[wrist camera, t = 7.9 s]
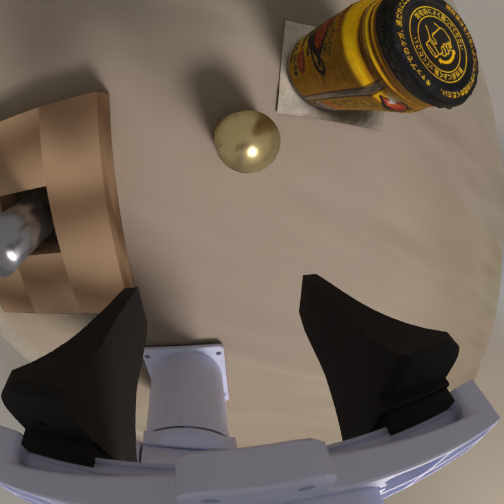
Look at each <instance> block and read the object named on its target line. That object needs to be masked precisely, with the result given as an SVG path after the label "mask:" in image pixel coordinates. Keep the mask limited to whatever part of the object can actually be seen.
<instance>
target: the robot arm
mask: <svg viewBox="0 0 504 504" xmlns="http://www.w3.org/2000/svg"><path fill="white" fill-rule="evenodd" d="M299 313H300V317H301V320H302V324H303V327H304V330H305V332H306V334H307V337H308V339H309V341H310V343H311V345H312V347H313V349H314V351H315V354H316V356H317V358H318V360H319V362H320V364H321V366H322V369H323V371H324V374H325V376H326V379H327V382H328V385H329V389H330V392H331V395H332V399H333V402H334V406H335V409H336V413H337V417H338V421H339V425H340V430H341V435H342V440H343V441H341V442H338V443H334V444H330V445H326V444H325V442H323V441H320V440H316V439H312V438H308V439H298V440H291V441H285V442H279V443H273V444H266V445H259V446H252V447H243V448H237V445H236V438H235V437H230V436H229V428H228V421H227V412H226V404H225V401H227V400H228V399H229V397H228V388H227V378H226V368H225V358H224V348H223V345H222V344H206V345H190V346H169V347H145V344H146V333H147V321H146V318H145V314H144V310H143V306H142V302H141V298H140V294H139V290H138V287H134V288H124V289H123V290H122V291H121V292H120V293H119V294H118V295H117V296H116V297H115V298H114V299H113V300H112V301H111V302H110V303H109V304H108V305H107V306H106V307H105V308H104V310H103V311H102V312H101V313H100V314H99V315H98V316H96V317H95V318H94V319H93V320H92V321H91V322H90V323H89V324H88V325H87V326H86V327H85V328H84V329H82V330H81V331H80V332H79V333H78V334H76V335H75V336H74V337H72V338H71V339H70V340H68V341H67V342H66V343H64V344H63V345H61V346H59V347H58V348H56V349H55V350H53V351H52V352H50V353H48V354H47V355H45V356H43V357H41V358H39V359H37V360H35V361H33V362H31V363H29V364H26V365H24V366H22V367H19V368H17V369H14V370H12V372H11V374H10V376H9V378H8V380H7V382H6V384H5V387H4V389H3V391H2V394H1V397H2V401H3V403H4V405H5V406H6V408H7V409H8V410H9V412H10V413H11V414H12V415H13V416H14V417H15V418H16V419H17V420H18V421H19V423H20V424H21V425H22V426H23V427H24V428H25V432H24V435H23V434H21V433H20V432H18V431H15V430H12V429H9V428H6V427H3V426H1V425H0V485H1V486H2V487H3V488H5V489H7V490H8V491H10V492H11V493H13V494H15V495H16V496H18V497H20V498H21V499H23V500H26V501H28V502H31V503H33V504H384V502H383V499H384V498H386V497H389V496H391V495H393V494H395V493H397V492H399V491H401V490H403V489H405V488H407V487H409V486H411V485H412V484H414V483H416V482H418V481H420V480H422V479H423V478H425V477H427V476H429V475H430V474H432V473H434V472H435V471H437V470H438V469H440V468H442V467H443V466H445V465H446V464H448V463H450V462H451V461H453V460H454V459H456V458H457V457H459V456H461V455H462V454H464V453H465V452H466V451H468V450H469V449H470V448H472V447H473V446H474V445H475V444H476V443H477V442H478V441H479V440H480V439H481V438H482V437H483V436H484V435H485V434H486V433H487V432H488V431H489V430H490V429H491V428H492V427H493V426H494V425H495V424H496V423H497V422H498V421H499V420H500V417H499V416H498V414H497V413H496V411H495V410H494V408H493V407H492V405H491V404H490V403H489V401H488V400H487V398H486V397H485V396H484V394H483V393H482V392H481V391H480V389H479V387H478V386H477V385H476V383H475V382H474V381H473V380H470V381H468V382H466V383H464V384H462V385H460V386H458V387H457V388H455V389H454V390H453V391H451V392H449V391H448V389H447V387H448V386H449V382H448V381H447V379H446V376H447V375H448V373H449V371H450V370H451V368H452V366H453V365H454V363H455V361H456V359H457V357H458V353H459V346H458V344H457V343H456V342H455V341H454V340H453V338H452V337H451V336H450V335H449V334H448V333H447V332H443V331H437V330H432V329H426V328H422V327H418V326H415V325H411V324H408V323H405V322H402V321H399V320H396V319H394V318H391V317H388V316H386V315H384V314H382V313H379V312H377V311H375V310H373V309H371V308H369V307H367V306H366V305H364V304H362V303H360V302H359V301H357V300H355V299H354V298H352V297H350V296H349V295H347V294H346V293H344V292H343V291H341V290H340V289H338V288H337V287H335V286H334V285H332V284H331V283H329V282H328V281H326V280H325V279H323V278H322V277H320V276H319V275H317V274H311V275H303V281H302V290H301V299H300V308H299ZM147 355H149V356H147ZM142 359H144V361H145V364H146V367H147V370H148V372H149V375H150V377H151V388H150V398H149V409H148V420H147V431H144V436H143V444H142V441H137V440H136V431H135V412H136V391H137V384H138V379H139V373H140V368H141V363H142Z"/></svg>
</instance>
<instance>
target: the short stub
mask: <svg viewBox="0 0 504 504" xmlns="http://www.w3.org/2000/svg"><path fill="white" fill-rule="evenodd" d="M214 143H215V147H216V150H217V153H218V155H219V157H220V159H221V160H222V161H223V163H224V164H225V165H227V166H228V167H229V168H231V169H232V170H235V171H238V172H242V173H253V172H257V171H260V170H262V169H264V168H266V167H267V166H269V165H270V164H271V163H272V162H273V161H274V159H275V158H276V156H277V154H278V151H279V148H280V134H279V131H278V128H277V126H276V125H275V123H274V122H273V121H272V120H271V119H270V118H269V117H268V116H266V115H265V114H263V113H261V112H258V111H253V110H244V111H239V112H234V113H231V114H228V115H227V116H225V117H224V118H223V119H221V120H220V122H219V123H218V124H217V126H216V129H215V132H214Z"/></svg>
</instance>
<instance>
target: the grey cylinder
mask: <svg viewBox="0 0 504 504" xmlns="http://www.w3.org/2000/svg"><path fill="white" fill-rule="evenodd" d="M54 230H55V227H54V222H53V218H52V213H51V208H50V203H49V198H48V193H47V191H43V190H39V191H36V192H34V193H32V194H31V195H29V196H27V197H26V198H24V199H23V200H21V201H20V202H18V203H16V204H15V205H13V206H12V207H10V208H9V209H7V210H6V211H4V212H3V213H1V214H0V277H8V276H10V275H11V274H12V273H13V272H14V271H15V270H16V269H17V268H18V267H19V265H20V264H21V263H22V262H23V261H24V260H25V259H26V258H27V257H28V256H29V255H30V254H31V253H32V252H33V251H34V250H35V249H36V248H37V247H38V245H39V244H40V243H41V242H42V241H43V240H45V239H46V238H47V237H48V236H49V235H50V234H51V233H52V232H53V231H54Z"/></svg>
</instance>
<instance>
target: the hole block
mask: <svg viewBox="0 0 504 504" xmlns="http://www.w3.org/2000/svg"><path fill="white" fill-rule="evenodd" d="M44 186H46V187H47V193H48V198H49V203H50V208H51V213H52V218H53V222H54V227H55V231H56V235H57V239H58V240H55V241H46V242H41V243H40V244H39V245H38V247H37V248H36V249H35V250H34V251H33V252H32V253H31V254H30V255H29V256H28V257H27V258H26V259H25V260H24V261H23V262H22V263H21V264H20V265H19V267H18V268H17V269H16V270H15V271H14V272H13V273H12V274H11V275H10V276H8V277H0V304H1V307H2V309H3V311H4V312H14V313H58V314H87V313H101V312H102V311H103V310H104V308H105V307H106V306H107V305H108V304H109V303H110V302H111V301H112V300H113V299H114V298H115V297H116V296H117V295H118V294H119V293H120V292H121V291H122V290H123V289H124V288H134V287H135V286H134V282H133V278H132V273H131V269H130V264H129V259H128V255H127V250H126V245H125V239H124V234H123V228H122V223H121V216H120V210H119V204H118V197H117V189H116V181H115V173H114V164H113V153H112V142H111V127H110V105H109V93H103V92H98V91H96V92H91V93H87V94H83V95H79V96H75V97H71V98H67V99H64V100H60V101H57V102H54V103H50V104H47V105H44V106H41V107H38V108H35V109H32V110H29V111H26V112H24V113H21V114H18V115H16V116H13V117H10V118H8V119H5V120H3V121H1V122H0V214H1V213H3V212H4V211H6V210H7V209H9V208H10V207H12V206H13V205H15V204H16V203H18V198H17V193H16V192H21V191H25V190H30V189H34V188H39V187H44Z"/></svg>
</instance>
